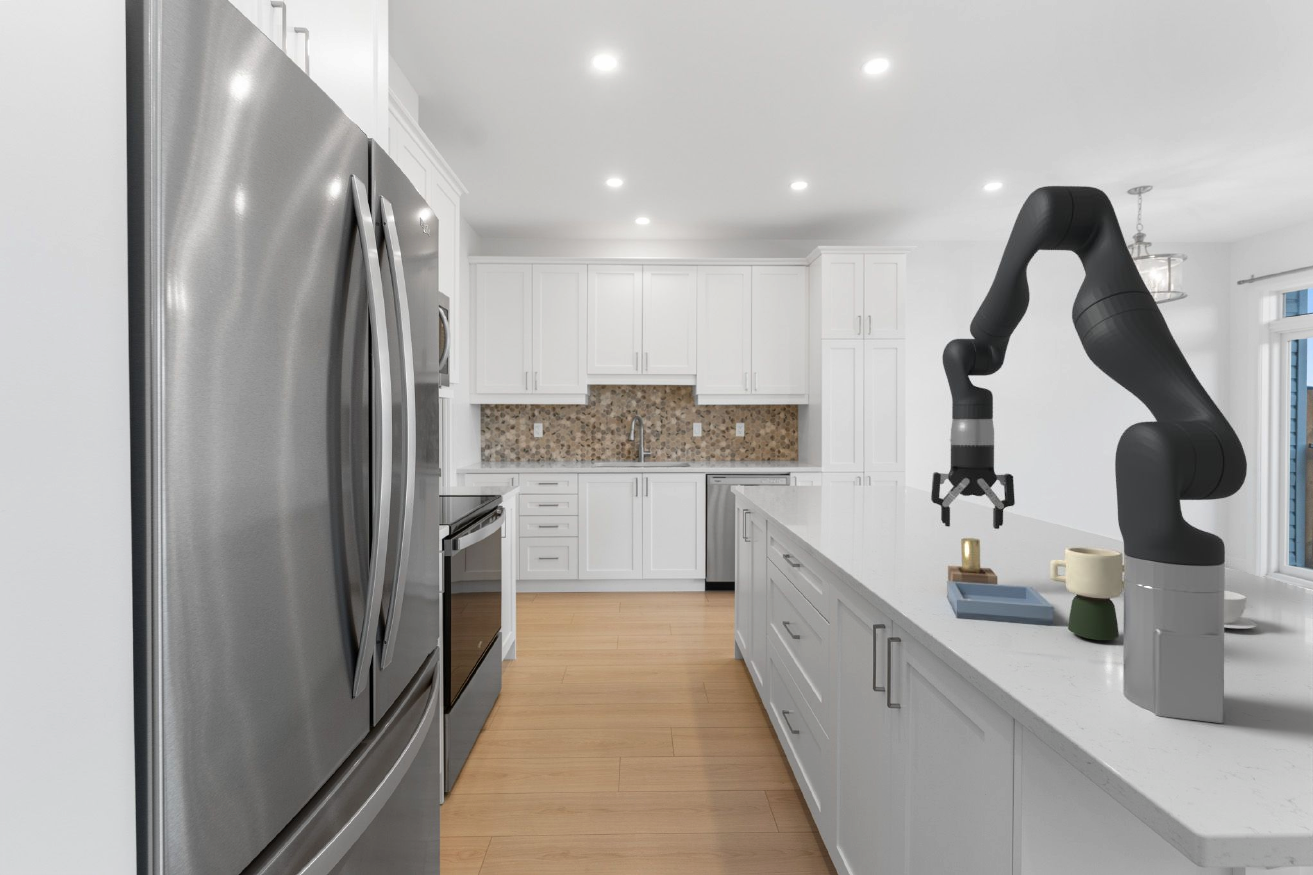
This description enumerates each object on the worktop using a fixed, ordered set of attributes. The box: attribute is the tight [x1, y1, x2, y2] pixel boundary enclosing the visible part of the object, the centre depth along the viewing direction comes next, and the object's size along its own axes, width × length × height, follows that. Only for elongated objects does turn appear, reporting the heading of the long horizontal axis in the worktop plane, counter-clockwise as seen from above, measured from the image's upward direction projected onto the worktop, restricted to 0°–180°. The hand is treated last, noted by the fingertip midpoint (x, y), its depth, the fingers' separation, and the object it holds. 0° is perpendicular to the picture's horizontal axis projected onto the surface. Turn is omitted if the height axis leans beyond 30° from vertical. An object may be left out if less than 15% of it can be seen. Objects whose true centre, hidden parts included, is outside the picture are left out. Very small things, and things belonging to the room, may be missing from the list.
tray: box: [946, 580, 1054, 627], centre depth 111 cm, size 14×14×3 cm
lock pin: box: [960, 537, 981, 574], centre depth 124 cm, size 3×3×10 cm
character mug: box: [1049, 546, 1124, 641], centre depth 96 cm, size 11×7×13 cm, turn 59°
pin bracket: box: [947, 565, 998, 584], centre depth 124 cm, size 8×8×4 cm
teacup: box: [1224, 590, 1258, 629], centre depth 105 cm, size 10×10×5 cm
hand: (971, 527), depth 124 cm, fingers open, 8 cm apart
